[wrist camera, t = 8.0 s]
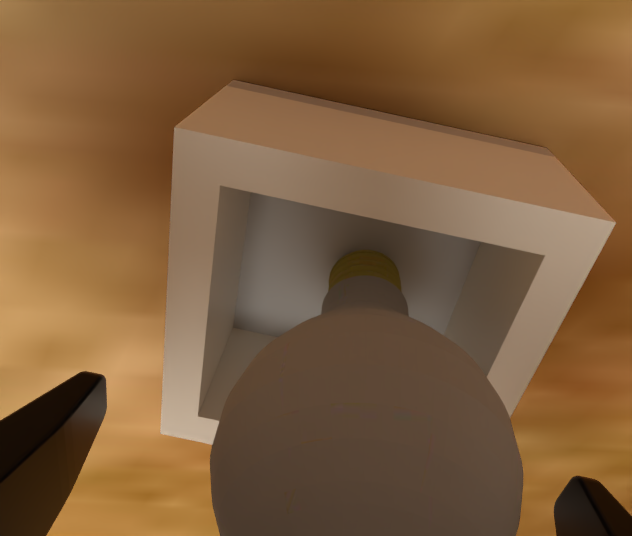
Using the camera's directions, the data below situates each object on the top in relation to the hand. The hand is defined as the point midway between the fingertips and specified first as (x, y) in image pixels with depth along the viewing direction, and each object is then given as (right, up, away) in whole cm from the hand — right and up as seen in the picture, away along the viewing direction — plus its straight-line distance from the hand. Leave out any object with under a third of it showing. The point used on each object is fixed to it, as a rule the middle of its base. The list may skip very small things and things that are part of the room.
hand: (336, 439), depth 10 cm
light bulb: (+1, +3, +6) cm, 7 cm away
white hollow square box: (+1, +4, +7) cm, 8 cm away
